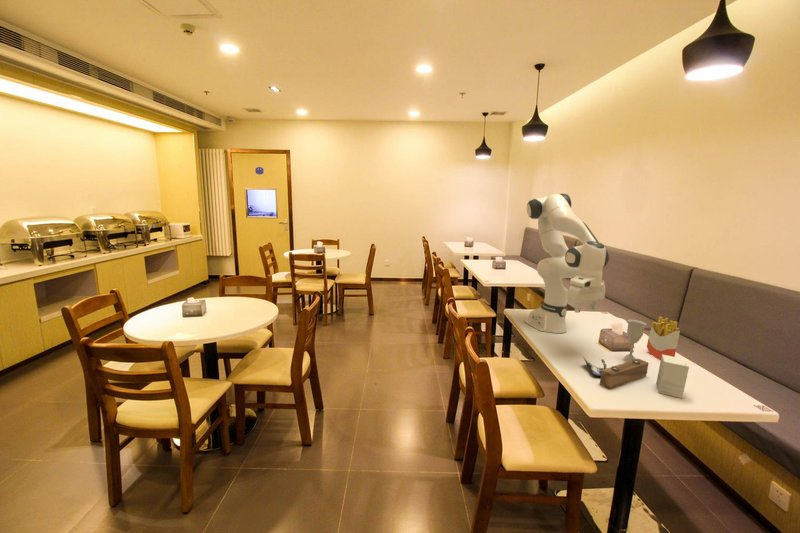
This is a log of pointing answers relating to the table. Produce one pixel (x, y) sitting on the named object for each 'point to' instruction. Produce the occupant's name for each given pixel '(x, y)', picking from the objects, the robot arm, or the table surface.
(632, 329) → the chalice
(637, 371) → the bar
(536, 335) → the table surface
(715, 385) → the table surface
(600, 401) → the table surface
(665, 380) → the supplement box
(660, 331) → the french fries container
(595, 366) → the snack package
